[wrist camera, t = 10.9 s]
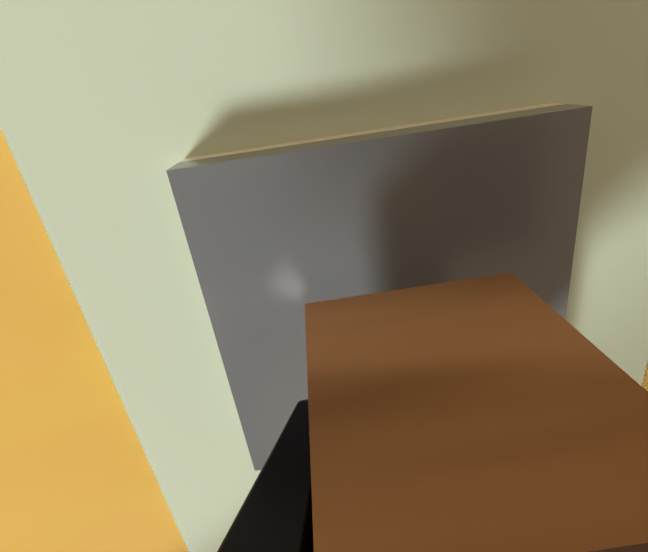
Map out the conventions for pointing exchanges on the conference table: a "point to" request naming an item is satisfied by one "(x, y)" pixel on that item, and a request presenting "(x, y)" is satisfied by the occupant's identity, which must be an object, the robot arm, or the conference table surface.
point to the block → (470, 426)
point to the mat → (282, 127)
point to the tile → (372, 231)
